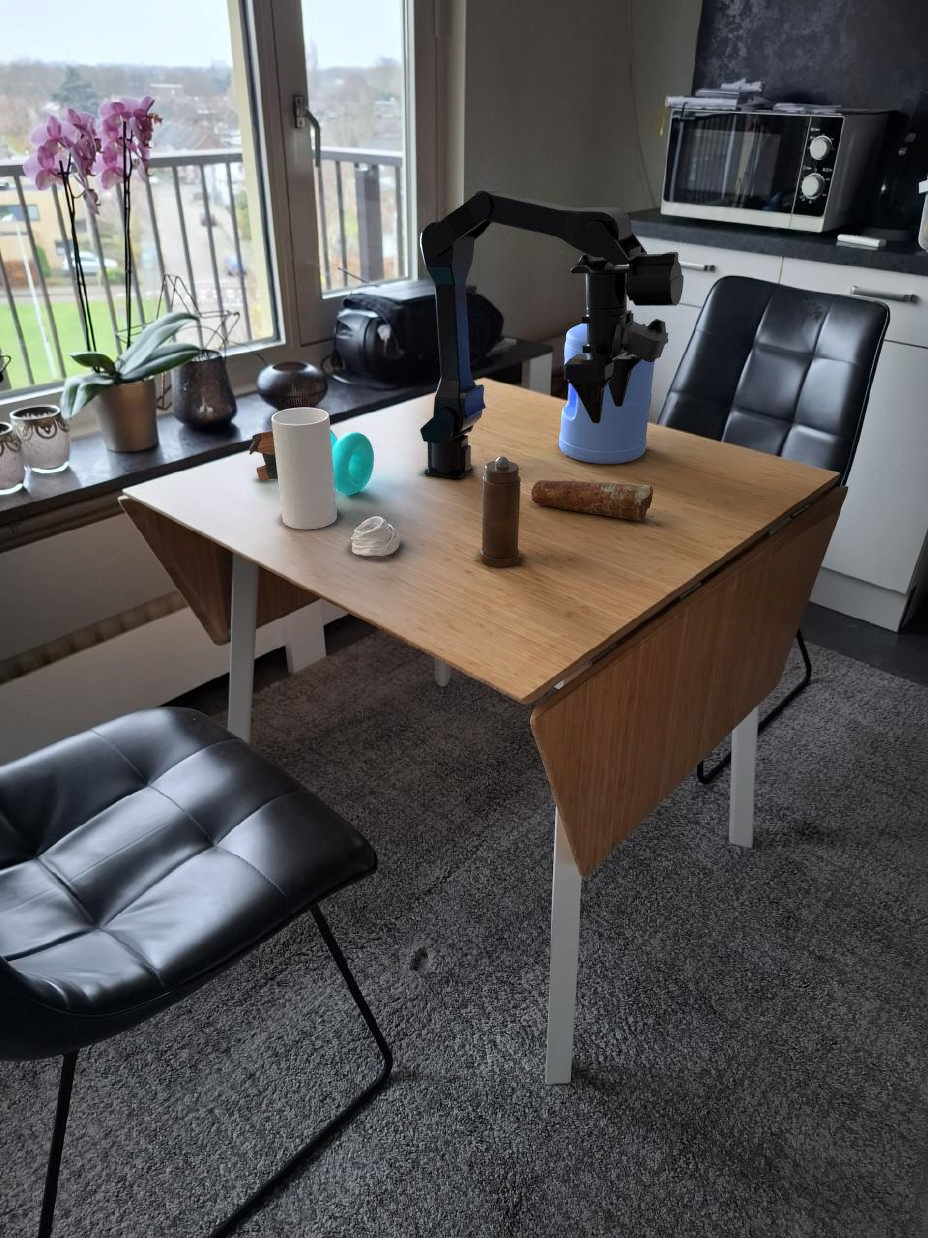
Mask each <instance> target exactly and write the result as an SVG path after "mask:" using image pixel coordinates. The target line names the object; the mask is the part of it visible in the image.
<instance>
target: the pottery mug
mask: <svg viewBox="0 0 928 1238" xmlns="http://www.w3.org/2000/svg"><path fill="white" fill-rule="evenodd" d="M251 439H252V443H251V444H250V446H249V448H248V451H249V453H248V454H249V456H250V455H253V453H258V454H261V455H262V459H263V462H264V465H261V466H258V467H256V468H255V469H256V474H257V477H258V481H267V480H278V473H277V464H276V455H275V446H274V438H273V430H271V431H264V432H258V433H255V434H253V435H252V436H251Z"/></svg>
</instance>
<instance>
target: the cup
mask: <svg viewBox="0 0 928 1238" xmlns="http://www.w3.org/2000/svg"><path fill="white" fill-rule="evenodd" d="M330 420H331V419H330V414H329V412H328V411H326V410H324V409H321V408H317V407H293V408H286V409H283V410H282V409H281V410H279V411H277V412H275V413H273V414H272V416H271V427H272V431H273V438H274V446H275V455H276V464H277V473H278V479H277V482H278V490H279V499H280V508H281V516H282V522H283V524H284V525H285V526H287V527H288V528H292V529H297V530H317V529H321V528H326V527H328V526H330V525H332V524H333V523H335V522H336V521H337V519H338V510H337V509H338V508H337V497H336V488H335V483H334V470H333V457H332V444H331V432H330V429H331V421H330Z"/></svg>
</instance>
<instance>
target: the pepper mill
mask: <svg viewBox="0 0 928 1238" xmlns="http://www.w3.org/2000/svg"><path fill="white" fill-rule="evenodd" d="M519 466H520V465H519V464H517V463H516V462H514V461H509V459H508V458H507V457H506V456H499V457H497V458H496V460H493V461H490V462H488V463H486V464H485V469H484V471H485V473H484V475H483V477H482V515H481V516H482V517H481V518H482V519H481V520H482V522H481V523H482V525H481V526H482V527H481V549H480V555H479V557H480V562H481V563H483V564H485V565H487V566H488V567H489V566H490V567H492V568H493V567H494V568H508V567H511V566H514V565H516V564H517V563H519V561H520V549H519V534H520V531H519V530H520V509H521V508H520V507H521V505H520V504H521V503H520V502H521V476H520V475H519V473H520V471H519V469H520V467H519Z"/></svg>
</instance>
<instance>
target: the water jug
mask: <svg viewBox="0 0 928 1238" xmlns="http://www.w3.org/2000/svg"><path fill="white" fill-rule="evenodd" d="M634 322H635V323H638V324H640V323H639V322H637V321H635V320H634ZM565 337H566V338H565V342H564V364H565V363H566V362H567V361H568V360H569V359H570V358H572V357H574V356H576V355H577V354H591V353H582V346H583V345H585V344H587V324H582V323H580V324H578V325H575V326H573V327H571V328H570V329H569V330H568V331H567V332H566V336H565ZM655 362H656V360H655V361H654V362H646V361H644V360H641V361H640V362H639V363H638V364H637V365H636V366H635V367H634V368H633V369H632V372H631V375H630V379H629V382H628V386H627V390H626V394H625V398H624V402H623V405H622V406H621V407H616V406H615V405H614V402H613V399H612V396H611V392H610V389H609V385H607V386H606V387H605V389H604V398H603V406H602V414H601V420H600V423H593V422H592V421H591V419H590V417H589V415H588V413H587V411H586V409H585V407H584V405H583V403H582V401H581V399H580V398H579V396H578V394H577V392H576V391H575V389H574V387H573V386H572V384H569V383H568V394H567V403H566V405H564V406H563V408H562V410H561V416H560V417H561V420H560V432H559V435H558V436H559V437H558V446H559V449H560V451H561V452H562V453H563V454H564V455H566V456H567V457H569V458H571V459H574V460H576V461H579V462H584V463H589V464H595V465H618V464H625V463H629V462H633V461H635V460H637V459H639V458H641V457H642V456H643V455H644V454H645V452H646V448H647V432H648V425H649V424H648V423H649V416H650V415H649V413H650V409H651V405H652V403H651V402H652V389H653V379H654V370H655Z"/></svg>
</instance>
